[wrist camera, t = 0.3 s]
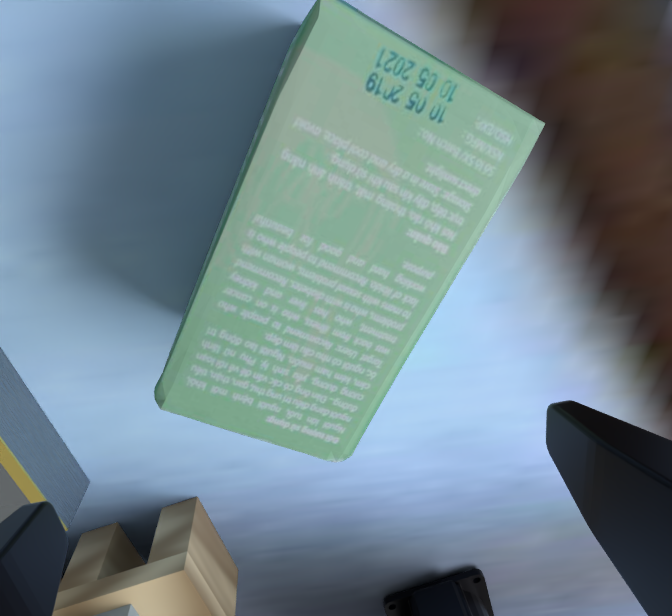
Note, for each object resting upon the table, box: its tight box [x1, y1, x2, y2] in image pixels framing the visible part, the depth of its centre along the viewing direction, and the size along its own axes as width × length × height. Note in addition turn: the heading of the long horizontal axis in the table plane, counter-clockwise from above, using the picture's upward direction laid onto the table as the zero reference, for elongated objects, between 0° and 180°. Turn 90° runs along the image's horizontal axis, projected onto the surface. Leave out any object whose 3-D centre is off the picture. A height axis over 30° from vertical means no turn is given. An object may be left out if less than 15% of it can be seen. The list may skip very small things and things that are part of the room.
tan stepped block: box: [52, 497, 238, 616], centre depth 26 cm, size 11×6×4 cm, turn 107°
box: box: [154, 0, 545, 462], centre depth 18 cm, size 7×14×8 cm, turn 155°
